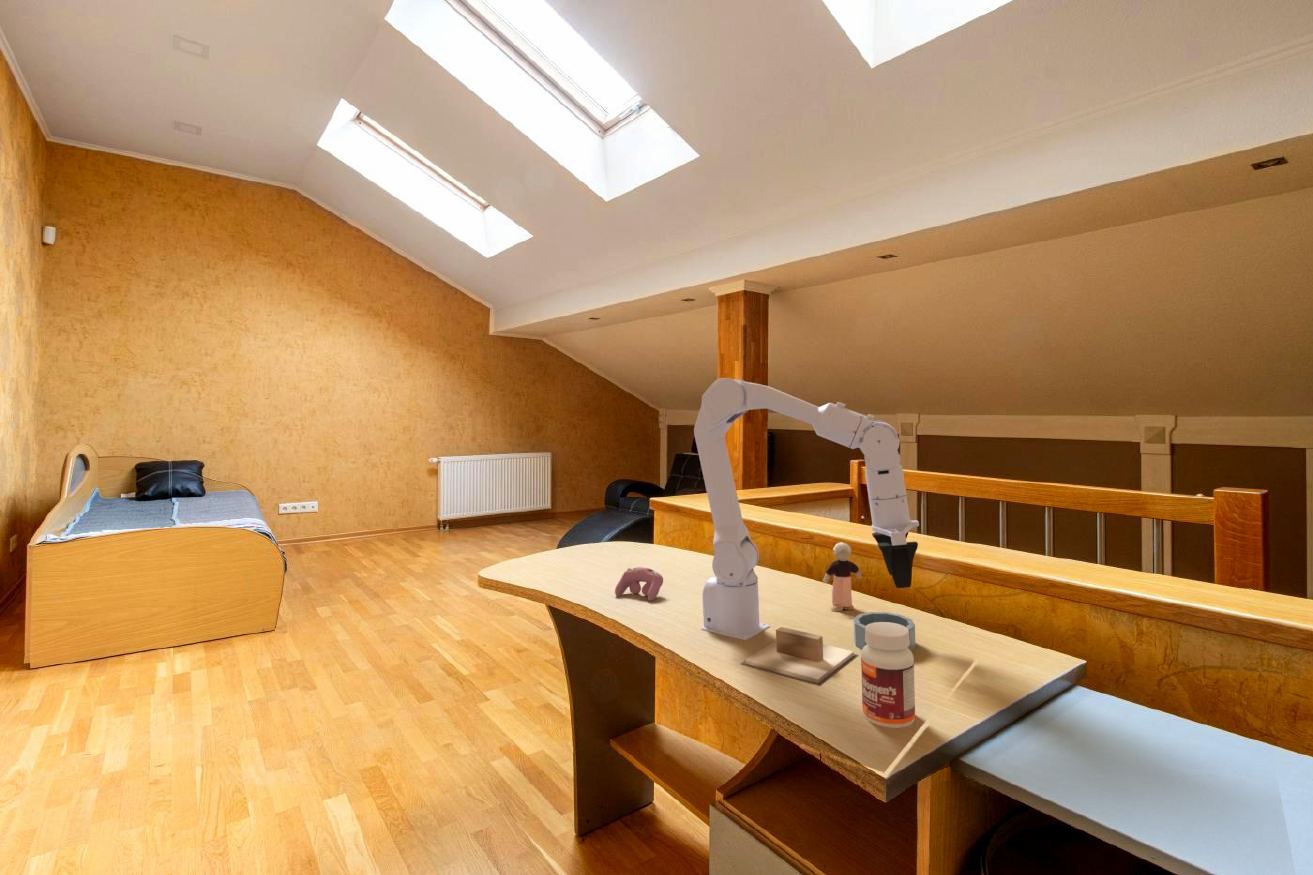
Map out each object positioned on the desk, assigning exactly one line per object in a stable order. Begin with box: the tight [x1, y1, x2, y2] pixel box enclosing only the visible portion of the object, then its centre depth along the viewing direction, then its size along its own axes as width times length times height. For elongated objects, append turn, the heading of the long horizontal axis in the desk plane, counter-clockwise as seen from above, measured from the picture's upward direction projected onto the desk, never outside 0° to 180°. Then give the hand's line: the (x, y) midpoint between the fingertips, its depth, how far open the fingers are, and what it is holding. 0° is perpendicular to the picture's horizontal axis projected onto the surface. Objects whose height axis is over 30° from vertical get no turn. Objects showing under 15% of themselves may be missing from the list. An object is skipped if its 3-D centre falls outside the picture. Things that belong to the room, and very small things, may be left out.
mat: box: [740, 653, 859, 687], centre depth 95 cm, size 13×13×1 cm
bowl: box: [852, 611, 917, 653], centre depth 100 cm, size 9×9×4 cm
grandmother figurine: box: [822, 541, 862, 612], centre depth 119 cm, size 8×4×13 cm, turn 112°
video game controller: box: [614, 566, 664, 602], centre depth 133 cm, size 10×5×7 cm, turn 58°
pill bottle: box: [860, 622, 916, 729], centre depth 77 cm, size 6×6×11 cm
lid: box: [744, 626, 855, 683], centre depth 95 cm, size 12×12×4 cm
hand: (899, 580), depth 100 cm, fingers open, 7 cm apart
